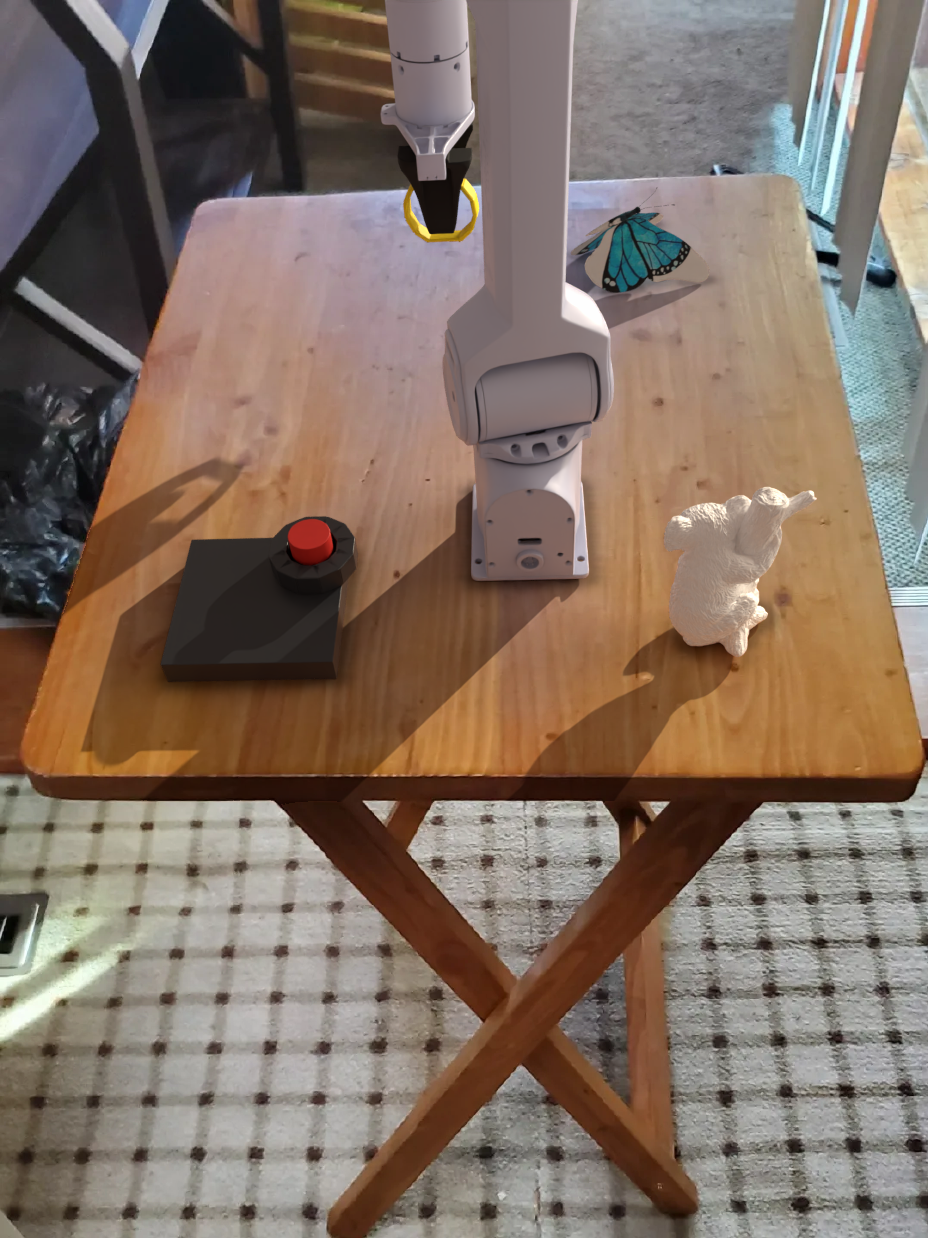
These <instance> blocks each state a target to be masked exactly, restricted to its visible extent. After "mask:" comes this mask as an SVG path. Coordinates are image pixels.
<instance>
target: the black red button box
mask: <svg viewBox="0 0 928 1238" xmlns="http://www.w3.org/2000/svg"><path fill="white" fill-rule="evenodd" d="M308 519H316V520H320V521H322V522H324V523H325V524H327V526H328V527H329V529H330V533H331V538H332V543H333V552H332V554H331V556H330V557H329V558H328V559H327V560H325V561H324V562H321V563H319V564H316V565H304V564H300V563H298V562H297V561H296V560H295V559H294V558H293V556H292V553H291V549H290V545H289V541H288V533H289V530H290V529H291V528H292V527H293V526H294V525H295V524H296V523H298V522H300V521H303V520H308ZM358 557H359V551H358V547H357V541H356V537H355V536H354V534H353V532H352V531H351V529H350V528H349V527H348V525H347V524H346V523H345V522H342V521H339V520H337V519H335V518H333V517H330V516H327V515H321V516H304V517H301V518H298V519H297V520H294V521H291V522H288V523H287V524H285V525H283V526H282V528H281V529H280V530H278V532H277V533H276V534H275V535H274V536H273V537H243V538H242V537H241V538H239V537H237V538H202V539H201V538H199V539H198V538H197V539H191V540H190V544H189V549H188V551H187V557H186V560H185V564H184V565H185V566H184V568H183V572H182V577H181V582H180V583H179V588H178V592H177V596H176V600H175V605H174V609H173V613H172V615H171V616H172V617H171V621H170V624H169V629H168V632H167V637H166V641H165V645H164V648H163V653H162V657H161V660H160V668H161V670H162V672H163V675H164V676H165V679H166V681H167V682H168V683H186V682H188V683H189V682H191V683H192V682H193V683H194V682H240V681H241V682H245V681H247V682H251V681H303V680H305V681H306V680H337V679H338V674H339V673H338V672H339V665H340V656H341V647H342V639H343V631H344V621H345V615H346V614H345V612H346V605H347V604H346V603H347V595H348V588H349V587H348V586H349V578H351V576H352V575H353V574H354V573H355V572H356V570H357V567H358V566H357V565H358Z"/></svg>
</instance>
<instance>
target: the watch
mask: <svg viewBox="0 0 928 1238" xmlns="http://www.w3.org/2000/svg"><path fill="white" fill-rule="evenodd" d="M414 192H415V191H414V189H413V187H412V185H411V184H410V183H409V186H408V188H407V191H406V193H405V196H404V198H403V203H402V207H403V217H404V219H405V222H406V224H407V226H408V227H409V229H410V231H411V232H412V233H414V235H415V236H417V238H419V239H420V240H422V241H424V242H426V244H427V243H446V242H449V243H456V242H457V243H462V242H463V241H464V240H466V238H467V237H469V236H470V235H471V234H472V233H473V231H474V229H475V226H476V222H477V219H478V216H479V212H480V204H479V199H478V193H477V192H476V190H475V188H474V187H473V186H472V184H471V183H470V182H469V181H468V179H467V178H466V177H464V180H463V183H462V186H461V191H460V192H462V194H463V195H464V196H465V197H466V199H467V200H468V201H469V204H470V210H471V214H472V216H471V219H470V221H469V222H468V223H467V224H466V225H465V226H464V227H463V228H462V229H455V231H454V233H452V234H429V232H428V230H427V227H426V225H425V226H424V225H423V224H422V223H421V222H419V220H418V218H417V216H416V215H415V213H414V212H413V209H412V200H411V197H412V195H413V193H414Z"/></svg>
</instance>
